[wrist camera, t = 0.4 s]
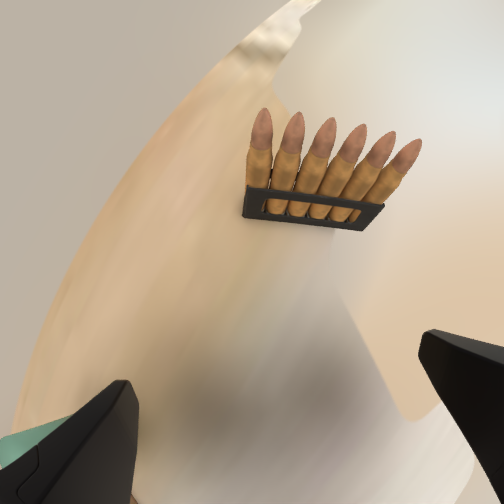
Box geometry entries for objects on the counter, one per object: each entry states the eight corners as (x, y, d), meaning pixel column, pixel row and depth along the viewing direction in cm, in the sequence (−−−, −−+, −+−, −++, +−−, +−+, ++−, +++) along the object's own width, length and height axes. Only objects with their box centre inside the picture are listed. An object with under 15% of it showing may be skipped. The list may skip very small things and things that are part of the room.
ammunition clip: (242, 217, 24) (243, 119, 13) (244, 198, 25) (247, 95, 13) (363, 231, 24) (437, 156, 13) (362, 212, 25) (429, 131, 14)
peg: (145, 438, 19) (70, 507, 7) (108, 447, 18) (23, 504, 6) (124, 395, 20) (28, 433, 8) (88, 406, 19) (-12, 438, 7)
